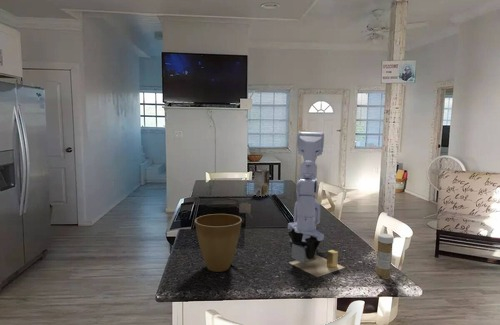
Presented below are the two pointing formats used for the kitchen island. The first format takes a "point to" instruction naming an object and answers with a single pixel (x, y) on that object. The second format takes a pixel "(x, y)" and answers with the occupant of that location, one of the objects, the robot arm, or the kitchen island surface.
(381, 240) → the sprinkles bottle
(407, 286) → the kitchen island surface
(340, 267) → the plate
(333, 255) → the brass post
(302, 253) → the grey hollow square block
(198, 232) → the plant pot
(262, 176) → the coffee box
